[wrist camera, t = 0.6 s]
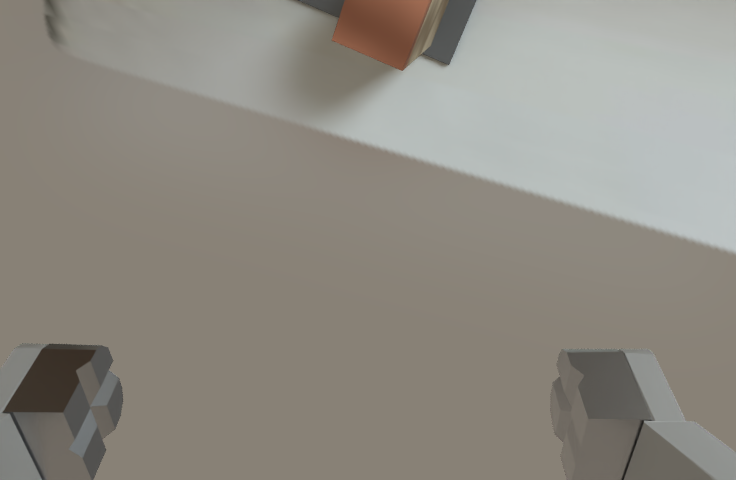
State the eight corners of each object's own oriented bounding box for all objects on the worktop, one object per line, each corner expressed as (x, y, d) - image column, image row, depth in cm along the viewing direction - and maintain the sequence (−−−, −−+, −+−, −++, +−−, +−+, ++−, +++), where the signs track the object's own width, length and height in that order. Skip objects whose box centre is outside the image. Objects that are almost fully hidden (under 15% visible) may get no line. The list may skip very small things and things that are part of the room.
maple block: (396, -41, 45) (357, -39, 36) (455, -17, 45) (432, -7, 35) (374, 21, 47) (331, 40, 38) (430, 45, 47) (402, 70, 37)
